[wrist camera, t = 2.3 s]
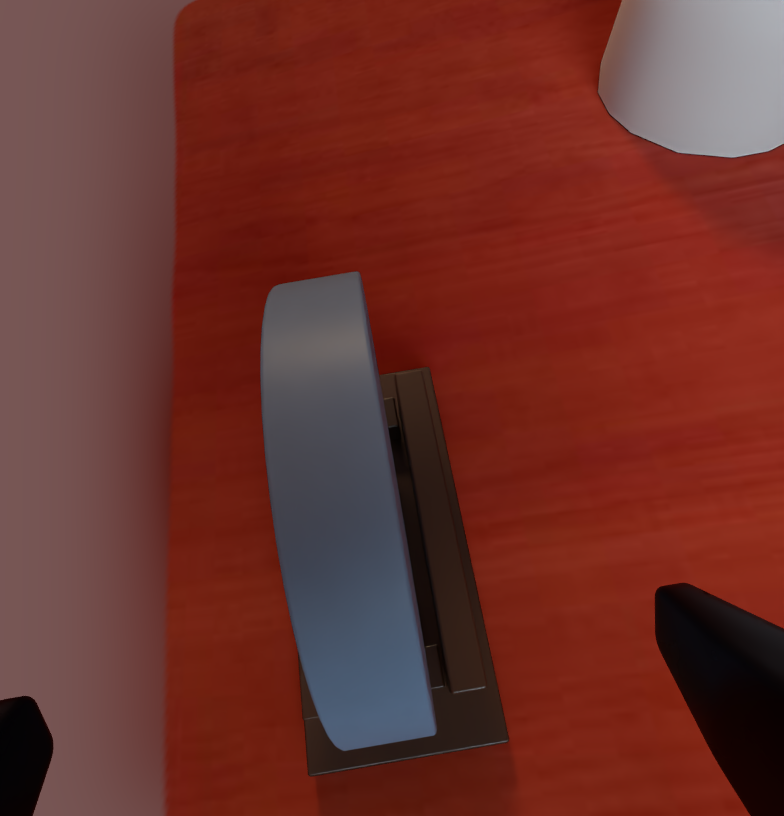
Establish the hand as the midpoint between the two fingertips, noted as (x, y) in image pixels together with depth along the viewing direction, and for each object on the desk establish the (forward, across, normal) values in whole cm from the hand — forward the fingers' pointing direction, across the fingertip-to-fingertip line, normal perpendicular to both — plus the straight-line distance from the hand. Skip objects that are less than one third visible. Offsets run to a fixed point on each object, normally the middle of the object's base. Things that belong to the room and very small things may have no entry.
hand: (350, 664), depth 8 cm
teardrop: (+26, -20, -10) cm, 35 cm away
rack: (+11, 0, +5) cm, 12 cm away
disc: (+6, 0, +1) cm, 7 cm away
